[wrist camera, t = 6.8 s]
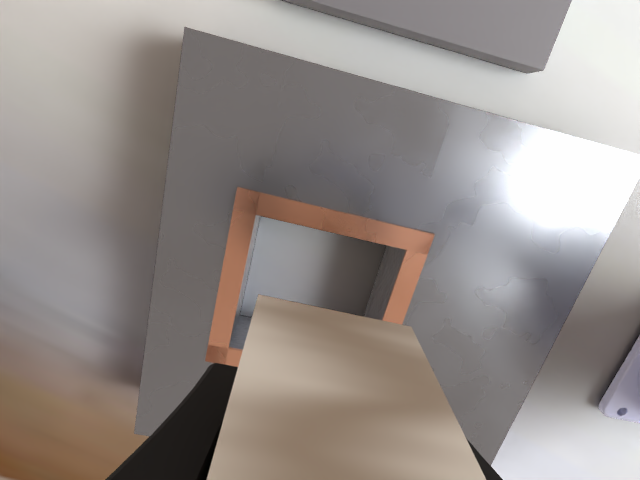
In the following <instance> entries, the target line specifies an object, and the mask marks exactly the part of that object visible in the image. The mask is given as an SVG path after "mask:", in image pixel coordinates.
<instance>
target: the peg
mask: <svg viewBox="0 0 640 480" xmlns="http://www.w3.org/2000/svg"><path fill="white" fill-rule="evenodd" d="M207 480H486V478H485V476H484V474H483V472H482V470H481V468H480V466H479V464H478V462H477V460H476V458H475V456H474V454H473V452H472V450H471V447H470V445H469V443H468V441H467V439H466V437H465V435H464V433H463V431H462V429H461V427H460V425H459V423H458V421H457V419H456V417H455V415H454V413H453V411H452V409H451V407H450V405H449V403H448V401H447V398H446V396H445V394H444V392H443V390H442V388H441V386H440V384H439V382H438V380H437V378H436V376H435V374H434V372H433V370H432V368H431V366H430V364H429V362H428V360H427V358H426V356H425V354H424V352H423V349H422V347H421V345H420V343H419V341H418V339H417V337H416V335H415V333H414V331H413V329H412V327H411V326H406V325H401V324H396V323H392V322H387V321H382V320H377V319H373V318H368V317H363V316H358V315H354V314H349V313H344V312H339V311H335V310H330V309H325V308H320V307H316V306H311V305H306V304H302V303H297V302H292V301H287V300H283V299H278V298H273V297H268V296H264V295H259V294H258V298H257V301H256V305H255V308H254V312H253V315H252V319H251V323H250V326H249V330H248V333H247V337H246V341H245V344H244V348H243V351H242V355H241V358H240V362H239V366H238V369H237V373H236V376H235V380H234V384H233V387H232V391H231V394H230V398H229V401H228V405H227V409H226V412H225V416H224V419H223V423H222V427H221V430H220V434H219V437H218V441H217V444H216V448H215V452H214V455H213V459H212V462H211V466H210V470H209V473H208V477H207Z"/></svg>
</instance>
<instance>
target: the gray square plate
mask: <svg viewBox="0 0 640 480" xmlns="http://www.w3.org/2000/svg"><path fill="white" fill-rule="evenodd" d="M282 1H286V2H289V3H292V4H296V5H299V6H302V7H306V8H309V9H313V10H316V11H319V12H323V13H326V14H329V15H333V16H336V17H340V18H343V19H346V20H350V21H353V22H356V23H360V24H363V25H366V26H370V27H373V28H377V29H380V30H383V31H387V32H390V33H393V34H397V35H400V36H404V37H407V38H410V39H414V40H417V41H420V42H424V43H427V44H430V45H434V46H437V47H441V48H444V49H447V50H451V51H454V52H457V53H461V54H464V55H468V56H471V57H474V58H478V59H481V60H484V61H488V62H491V63H494V64H498V65H501V66H505V67H508V68H511V69H515V70H518V71H521V72H525V73H533V72H538V71H543V70H544V68H545V66H546V63H547V61H548V58H549V56H550V53H551V51H552V48H553V46H554V43H555V41H556V38H557V36H558V33H559V31H560V28H561V26H562V23H563V21H564V18H565V16H566V13H567V11H568V8H569V6H570V3H571V1H572V0H282Z"/></svg>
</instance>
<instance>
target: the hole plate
mask: <svg viewBox="0 0 640 480" xmlns="http://www.w3.org/2000/svg"><path fill="white" fill-rule="evenodd" d="M639 177H640V155H638V154H634V153H631V152H627V151H624V150H620V149H617V148H613V147H610V146H606V145H603V144H599V143H595V142H592V141H588V140H585V139H581V138H578V137H574V136H571V135H567V134H563V133H560V132H556V131H553V130H549V129H546V128H542V127H539V126H535V125H531V124H528V123H524V122H521V121H517V120H514V119H510V118H507V117H503V116H499V115H496V114H492V113H489V112H485V111H482V110H478V109H475V108H471V107H467V106H464V105H460V104H457V103H453V102H450V101H446V100H443V99H439V98H435V97H432V96H428V95H425V94H421V93H418V92H414V91H411V90H407V89H403V88H400V87H396V86H393V85H389V84H386V83H382V82H379V81H375V80H371V79H368V78H364V77H361V76H357V75H354V74H350V73H347V72H343V71H339V70H336V69H332V68H329V67H325V66H322V65H318V64H315V63H311V62H307V61H304V60H300V59H297V58H293V57H290V56H286V55H283V54H279V53H276V52H272V51H268V50H265V49H261V48H258V47H254V46H251V45H247V44H244V43H240V42H236V41H233V40H229V39H226V38H222V37H219V36H215V35H212V34H208V33H204V32H201V31H197V30H194V29H190V28H187V27H185V28H184V36H183V45H182V53H181V61H180V69H179V77H178V85H177V93H176V101H175V109H174V117H173V125H172V133H171V141H170V149H169V157H168V165H167V173H166V181H165V189H164V197H163V206H162V214H161V222H160V230H159V238H158V246H157V254H156V262H155V270H154V278H153V286H152V294H151V302H150V310H149V318H148V326H147V334H146V342H145V350H144V358H143V367H142V375H141V383H140V391H139V399H138V407H137V415H136V423H135V431H134V434H139V435H146V436H151V435H152V434H153V433H154V432H155V430H156V429H157V428H158V427H159V426H160V425H161V424H162V423H163V422H164V421H165V420H166V418H167V417H168V416H169V415H170V414H171V413H172V412H173V411H174V410H175V409H176V408H177V406H178V405H179V404H180V403H181V402H182V401H183V399H184V398H185V397H186V396H187V395H188V394H189V392H190V391H191V390H192V389H193V387H194V386H195V385H196V384H197V382H198V381H199V380H200V378H201V377H202V376H203V374H204V373H205V371H206V370H207V368H208V367H209V366H210V365H212V364H213V363H219V364H225V365H230V366H235V367H238V366H239V362H240V358H241V355H242V351H243V348H244V344H245V341H246V337H247V333H248V330H249V326H250V323H251V319H252V317H247V316H242V315H240V312H241V307H242V302H243V297H244V293H245V288H246V283H247V278H248V274H249V269H250V264H251V259H252V254H253V250H254V245H255V240H256V235H257V231H258V226H259V221H260V216H263V217H267V218H272V219H276V220H280V221H284V222H289V223H293V224H297V225H302V226H306V227H310V228H314V229H319V230H323V231H327V232H332V233H336V234H340V235H344V236H349V237H353V238H357V239H362V240H366V241H370V242H375V243H379V244H383V245H387V246H386V249H385V252H384V255H383V258H382V261H381V264H380V267H379V270H378V273H377V276H376V280H375V283H374V286H373V289H372V292H371V295H370V298H369V301H368V304H367V307H366V310H365V313H364V316H363V317H368V318H373V319H377V320H382V321H387V322H392V323H396V324H401V325H406V326H411V327H412V329H413V331H414V333H415V335H416V337H417V339H418V341H419V343H420V345H421V347H422V349H423V352H424V354H425V356H426V358H427V360H428V362H429V364H430V366H431V368H432V370H433V372H434V374H435V376H436V378H437V380H438V382H439V384H440V386H441V388H442V390H443V392H444V394H445V396H446V398H447V401H448V403H449V405H450V407H451V409H452V411H453V413H454V415H455V417H456V419H457V421H458V423H459V425H460V427H461V429H462V431H463V433H464V435H465V437H466V438H467V439H468V441H469V442H470V443H471V444H472V445H473V446H474V448H475V449H476V450H477V451H478V452H479V453H480V454H481V456H482V457H483V458H484V459H485V460H486V461H487V462H488V464H489V465H490V466H491V464H492V462H493V460H494V458H495V456H496V454H497V452H498V450H499V448H500V446H501V444H502V443H503V441H504V439H505V437H506V435H507V433H508V431H509V429H510V427H511V425H512V423H513V421H514V419H515V417H516V415H517V413H518V412H519V410H520V408H521V406H522V404H523V402H524V400H525V398H526V396H527V394H528V392H529V390H530V388H531V386H532V384H533V383H534V381H535V379H536V377H537V375H538V373H539V371H540V369H541V367H542V365H543V363H544V361H545V359H546V357H547V355H548V353H549V352H550V350H551V348H552V346H553V344H554V342H555V340H556V338H557V336H558V334H559V332H560V330H561V328H562V326H563V324H564V322H565V321H566V319H567V317H568V315H569V313H570V311H571V309H572V307H573V305H574V303H575V301H576V299H577V297H578V295H579V293H580V291H581V290H582V288H583V286H584V284H585V282H586V280H587V278H588V276H589V274H590V272H591V270H592V268H593V266H594V264H595V262H596V260H597V259H598V257H599V255H600V253H601V251H602V249H603V247H604V245H605V243H606V241H607V239H608V237H609V235H610V233H611V231H612V230H613V228H614V226H615V224H616V222H617V220H618V218H619V216H620V214H621V212H622V210H623V208H624V206H625V204H626V202H627V200H628V199H629V197H630V195H631V193H632V191H633V189H634V187H635V185H636V183H637V181H638V179H639Z"/></svg>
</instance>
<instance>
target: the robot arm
mask: <svg viewBox="0 0 640 480" xmlns="http://www.w3.org/2000/svg"><path fill="white" fill-rule="evenodd" d="M237 369H238V367H235V366H230V365H225V364H219V363H213V364H212V365H210V366H209V367H208V368H207V370H206V371H205V373H204V374H203V376H202V377H201V378H200V380H199V381H198V382H197V384H196V385H195V386H194V387H193V389H192V390H191V391H190V392H189V394H188V395H187V396H186V397H185V398H184V399H183V401H182V402H181V403H180V404H179V405H178V406H177V408H176V409H175V410H174V411H173V412H172V413H171V414H170V415H169V416H168V417H167V418H166V420H165V421H164V422H163V423H162V424H161V425H160V426H159V427H158V428H157V429H156V430H155V432H154V433H153V434H152V435H151V436H150V437H149V438H148V439H147V440H146V441H145V442H144V443H143V444H142V445H141V446H140V447H139V448H138V449H137V450H136V451H135V452H134V453H133V454H131V455H130V456H129V457H128V458H127V459H126V460H125V461H124V462H123V463H122V464H121V465H120V466H119V467H118V468H117V469H116V470H115V471H114V472H113V473H112V474H111V475H110V476H109V477H108V478H107V479H105V480H207V477H208V473H209V470H210V466H211V462H212V459H213V455H214V452H215V448H216V444H217V441H218V437H219V434H220V430H221V427H222V423H223V419H224V416H225V412H226V409H227V405H228V401H229V398H230V394H231V391H232V387H233V384H234V380H235V376H236V373H237ZM598 407H599V410H600V411H601V412H602V413H603V414H604V415H605V416H607V417H611V418H616V419H621V420H627V421H632V422H637V423H640V335H639V337H638V339H637V341H636V342H635V344H634V346H633V347H632V349H631V351H630V352H629V354H628V356H627V357H626V359H625V361H624V362H623V364H622V366H621V367H620V369H619V371H618V373H617V374H616V376H615V378H614V379H613V381H612V383H611V384H610V386H609V388H608V389H607V391H606V393H605V394H604V396H603V398H602V399H601V401H600V403H599V406H598ZM466 439H467V438H466ZM467 441H468V439H467ZM468 443H469V445H470V447H471V450H472V452H473V454H474V456H475V458H476V460H477V462H478V464H479V466H480V468H481V470H482V472H483V474H484V476H485V478H486V480H503V479H502V478H501V477H500V476H499V475H498V474H497V473H496V472H495V470H494V469H493V468H492V467H491V466H490V465H489V464H488V462H487V461H486V460H485V459H484V458H483V457H482V456H481V454H480V453H479V452H478V451H477V450H476V449H475V448H474V446H473V445H472V444H471V443H470V442H469V441H468Z"/></svg>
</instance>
